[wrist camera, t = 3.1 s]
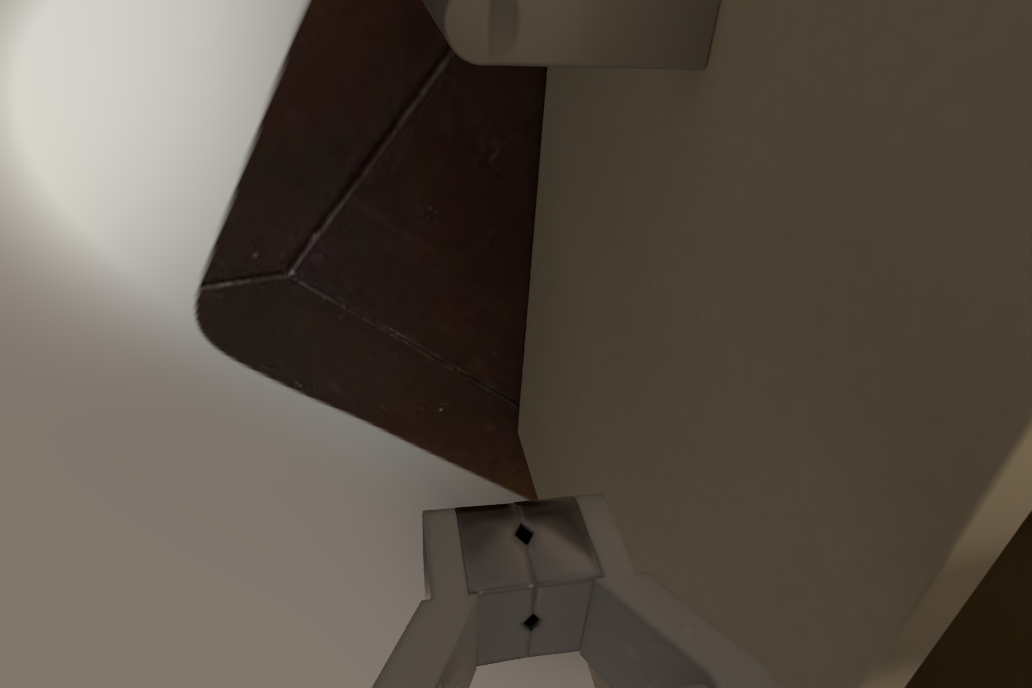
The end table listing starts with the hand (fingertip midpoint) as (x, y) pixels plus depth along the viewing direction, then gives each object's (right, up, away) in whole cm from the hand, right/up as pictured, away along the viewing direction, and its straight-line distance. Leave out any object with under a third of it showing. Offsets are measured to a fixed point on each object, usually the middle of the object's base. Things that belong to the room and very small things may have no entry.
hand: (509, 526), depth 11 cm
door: (-1, +9, +20) cm, 22 cm away
